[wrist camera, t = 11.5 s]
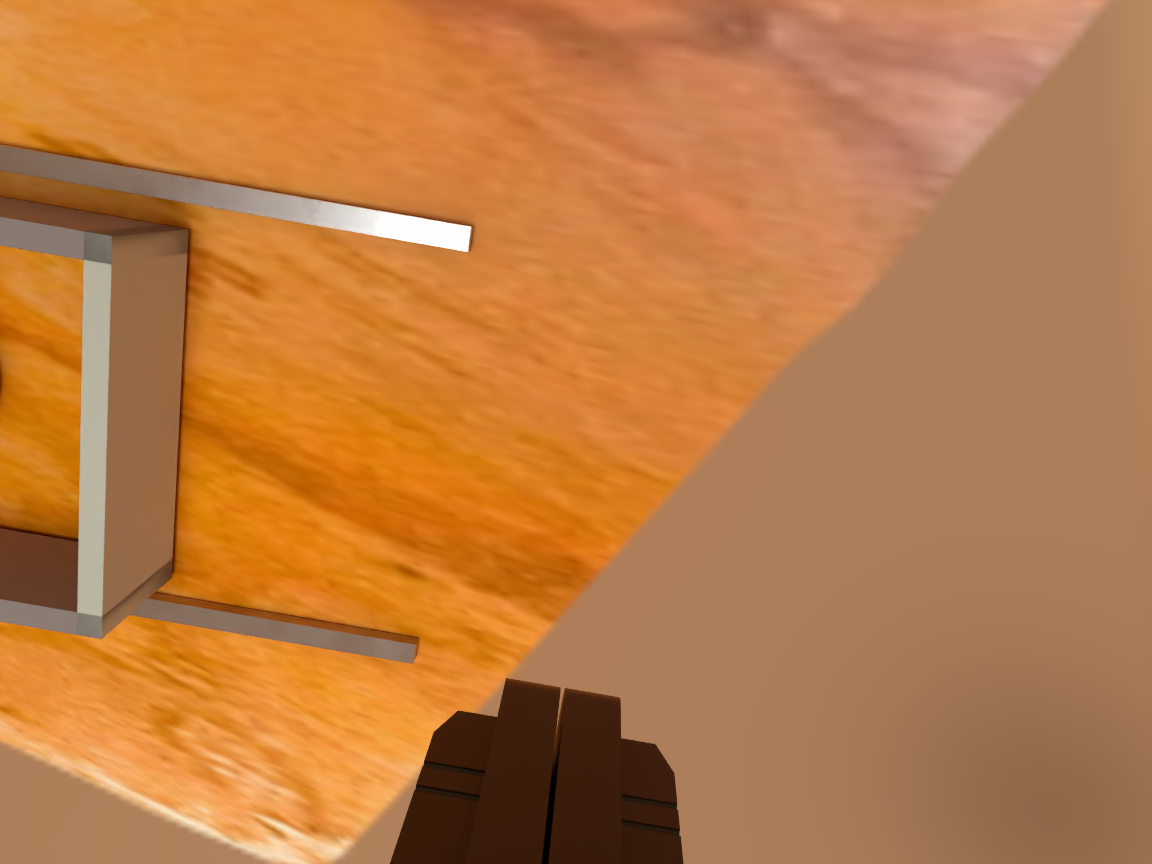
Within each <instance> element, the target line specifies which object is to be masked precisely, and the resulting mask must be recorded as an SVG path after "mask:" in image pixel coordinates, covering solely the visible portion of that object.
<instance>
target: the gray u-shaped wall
mask: <svg viewBox="0 0 1152 864" xmlns="http://www.w3.org/2000/svg"><path fill="white" fill-rule="evenodd" d="M188 232H189V229H185V228H179V227H173V226H168V225H162V224H156V223H150V222H145V221H139V220H133V219H127V218H122V217H116V216H110V215H104V214H99V213H93V212H87V211H81V210H76V209H70V208H64V207H58V206H53V205H47V204H41V203H35V202H30V201H24V200H18V199H12V198H7V197H1V196H0V245H1V246H7V247H13V248H18V249H24V250H30V251H36V252H41V253H47V254H53V255H59V256H64V257H70V258H76V259H82V260H84V269H83V324H82V380H81V435H80V491H79V542H77V541H71V540H65V539H59V538H53V537H48V536H42V535H36V534H30V533H24V532H19V531H13V530H7V529H1V528H0V622H6V623H11V624H17V625H23V626H29V627H35V628H40V629H46V630H52V631H58V632H64V633H69V634H75V635H81V636H87V637H93V638H98V639H102V638H103V637H104V636H106V635H107V634H108V633H109V632H110V631H111V630H112V629H114V628H115V627H116V626H117V625H118V624H119V623H120V622H122V621H123V620H124V619H125V618H126V617H127V616H128V615H130V614H131V613H132V612H133V611H134V610H135V609H136V608H138V607H139V606H140V605H141V604H142V603H143V602H144V601H146V600H147V599H148V598H149V597H150V596H151V595H152V594H154V593H155V592H156V591H157V590H158V589H159V588H160V587H162V586H163V585H164V584H165V583H166V582H167V581H168V580H170V579H171V578H172V559H173V538H174V518H175V497H176V477H177V456H178V436H179V416H180V395H181V375H182V354H183V334H184V314H185V293H186V273H187V252H188Z"/></svg>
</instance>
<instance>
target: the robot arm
mask: <svg viewBox="0 0 1152 864" xmlns="http://www.w3.org/2000/svg"><path fill="white" fill-rule="evenodd" d="M559 699H560V687H554V686H549V685H543V684H537V683H532V682H526V681H520V680H514V679H508V678H506V681H505V685H504V690H503V694H502V699H501V703H500V708H499V712H498V717H493V716H487V715H481V714H476V713H470V712H464V711H457V712H456V713H455V714H454V715H453V716H452V717H450V718H449V719H448V720H447V721H446V722H445V723H444V724H442V725H441V726H440V727H439V728H438V729H437V730H436V731H434V733H433V736H432V739H431V742H430V745H429V748H428V751H427V754H426V757H425V760H424V765H423V766H422V769H421V772H420V775H419V778H418V781H417V784H416V789H415V791H414V793H413V797H412V799H411V802H410V805H409V808H408V811H407V814H406V817H405V820H404V823H403V826H402V829H401V832H400V835H399V838H398V841H397V844H396V847H395V850H394V853H393V856H392V859H391V862H390V864H683V855H682V845H681V836H679V831H680V826H679V816H678V810H677V797H676V786H675V777H674V772H673V771H672V769H671V768H670V766H669V765H668V763H667V761H666V760H665V758H664V757H663V755H662V754H661V752H660V751H659V749H658V748H657V746H656V745H655V744H651V743H645V742H639V741H634V740H628V739H622V738H621V705H620V704H621V703H620V698H619V697H614V696H608V695H602V694H596V693H590V692H585V691H579V690H573V689H568V688H565V691H564V695H563V699H562V705H561V710H560V715H559V721H558V726H557V717H558V708H559ZM556 726H557V732H556ZM555 736H556V737H555Z"/></svg>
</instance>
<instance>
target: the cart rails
mask: <svg viewBox="0 0 1152 864" xmlns="http://www.w3.org/2000/svg"><path fill="white" fill-rule="evenodd" d="M0 170H1V171H7V172H12V173H18V174H24V175H30V176H35V177H41V178H47V179H53V180H58V181H64V182H70V183H76V184H81V185H87V186H93V187H99V188H104V189H110V190H116V191H122V192H127V193H133V194H139V195H145V196H150V197H156V198H162V199H168V200H173V201H179V202H185V203H191V204H196V205H202V206H208V207H213V208H219V209H225V210H231V211H236V212H242V213H248V214H254V215H259V216H265V217H271V218H277V219H282V220H288V221H294V222H300V223H305V224H311V225H317V226H323V227H328V228H334V229H340V230H346V231H351V232H357V233H363V234H369V235H374V236H380V237H386V238H392V239H397V240H403V241H409V242H415V243H420V244H426V245H432V246H438V247H443V248H449V249H455V250H461V251H466V252H468V251H470V248H471V241H472V233H473V226H468V225H463V224H457V223H451V222H445V221H440V220H434V219H428V218H422V217H417V216H411V215H405V214H400V213H394V212H388V211H382V210H377V209H371V208H365V207H359V206H354V205H348V204H342V203H336V202H331V201H325V200H319V199H313V198H308V197H302V196H296V195H290V194H285V193H279V192H273V191H267V190H262V189H256V188H250V187H244V186H239V185H233V184H227V183H221V182H216V181H210V180H204V179H198V178H193V177H187V176H181V175H176V174H170V173H164V172H158V171H153V170H147V169H141V168H135V167H130V166H124V165H118V164H112V163H107V162H101V161H95V160H89V159H84V158H78V157H72V156H66V155H61V154H55V153H49V152H43V151H38V150H32V149H26V148H20V147H15V146H9V145H3V144H0ZM130 615H133V616H139V617H145V618H151V619H156V620H162V621H168V622H174V623H180V624H185V625H191V626H197V627H203V628H209V629H214V630H220V631H226V632H232V633H238V634H243V635H249V636H255V637H261V638H267V639H272V640H278V641H284V642H290V643H296V644H301V645H307V646H313V647H319V648H325V649H330V650H336V651H342V652H348V653H354V654H359V655H365V656H371V657H377V658H383V659H388V660H394V661H400V662H406V663H412V664H413V663H414V660H415V658H416V653H417V646H418V638H417V637H411V636H405V635H400V634H394V633H388V632H382V631H376V630H371V629H365V628H359V627H353V626H347V625H342V624H336V623H330V622H324V621H318V620H313V619H307V618H301V617H295V616H289V615H284V614H278V613H272V612H266V611H260V610H255V609H249V608H243V607H237V606H231V605H226V604H220V603H214V602H208V601H202V600H197V599H191V598H185V597H179V596H173V595H168V594H162V593H156V592H155V593H154V594H152V595H151V596H150V597H149V598H148V599H147V600H146V601H144V602H143V603H142V604H141V605H140V606H139V607H138V608H136V609H135V610H134V611H133V612H132V613H131V614H130Z"/></svg>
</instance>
